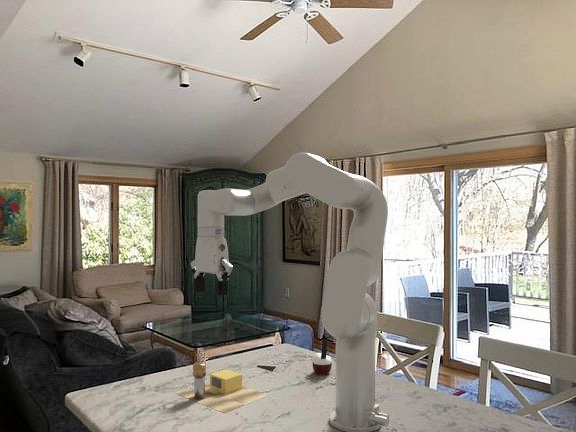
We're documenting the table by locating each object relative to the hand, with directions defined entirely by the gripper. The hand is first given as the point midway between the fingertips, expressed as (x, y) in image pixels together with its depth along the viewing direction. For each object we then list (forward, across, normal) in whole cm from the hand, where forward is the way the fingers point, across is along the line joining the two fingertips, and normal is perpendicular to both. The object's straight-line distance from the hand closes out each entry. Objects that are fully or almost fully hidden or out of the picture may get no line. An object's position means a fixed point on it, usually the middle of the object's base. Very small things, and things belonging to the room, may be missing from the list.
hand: (210, 293), depth 133 cm
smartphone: (+29, +1, -22) cm, 36 cm away
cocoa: (+29, -14, -34) cm, 47 cm away
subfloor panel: (+28, -6, +1) cm, 29 cm away
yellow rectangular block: (+27, -3, -3) cm, 27 cm away
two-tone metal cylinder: (+27, -3, +6) cm, 28 cm away
